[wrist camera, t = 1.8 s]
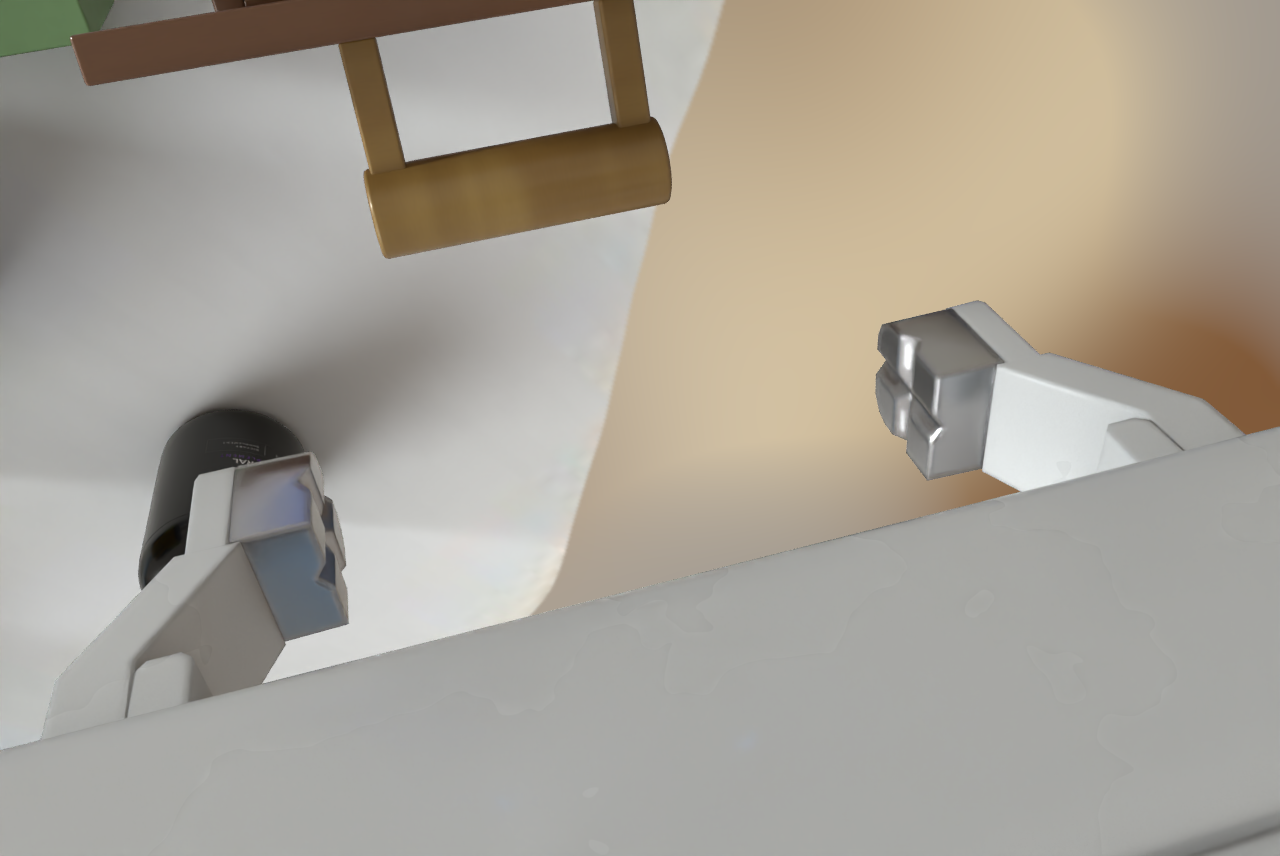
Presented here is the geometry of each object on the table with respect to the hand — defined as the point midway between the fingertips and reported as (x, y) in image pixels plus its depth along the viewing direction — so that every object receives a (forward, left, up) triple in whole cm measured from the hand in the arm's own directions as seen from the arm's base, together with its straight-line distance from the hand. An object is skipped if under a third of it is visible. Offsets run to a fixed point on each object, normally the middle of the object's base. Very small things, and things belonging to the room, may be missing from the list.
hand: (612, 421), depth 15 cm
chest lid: (-2, 0, -15) cm, 16 cm away
